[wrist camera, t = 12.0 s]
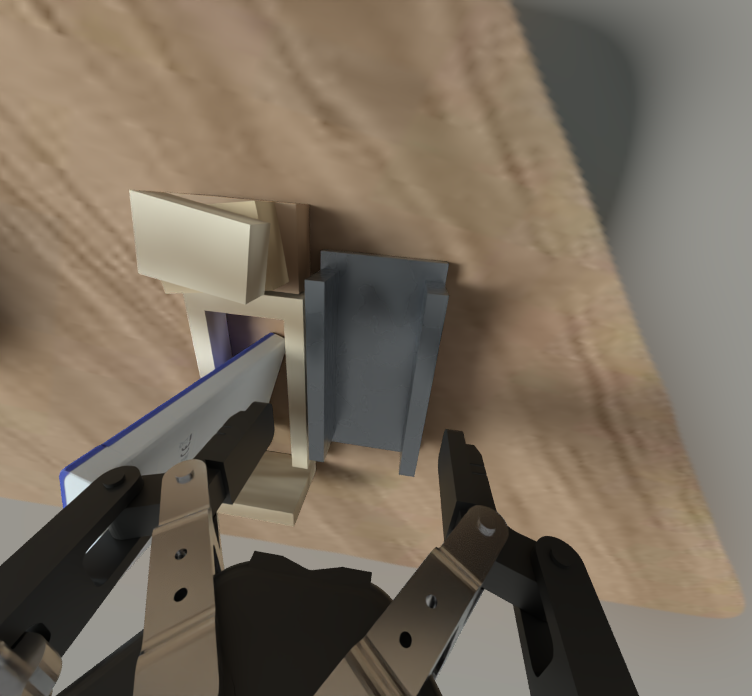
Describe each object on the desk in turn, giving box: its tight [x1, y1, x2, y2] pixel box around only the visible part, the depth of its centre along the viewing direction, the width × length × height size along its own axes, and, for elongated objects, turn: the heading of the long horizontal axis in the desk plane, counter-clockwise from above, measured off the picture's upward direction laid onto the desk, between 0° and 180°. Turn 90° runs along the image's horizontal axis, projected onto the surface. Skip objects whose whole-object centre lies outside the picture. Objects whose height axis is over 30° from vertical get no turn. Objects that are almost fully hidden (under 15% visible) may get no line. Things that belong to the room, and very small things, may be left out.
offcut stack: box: [129, 190, 310, 305], centre depth 15 cm, size 5×7×6 cm
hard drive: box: [59, 333, 285, 580], centre depth 16 cm, size 2×8×12 cm, turn 157°
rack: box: [183, 290, 316, 527], centre depth 20 cm, size 16×7×5 cm, turn 175°
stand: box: [305, 249, 449, 477], centre depth 18 cm, size 14×7×4 cm, turn 175°
